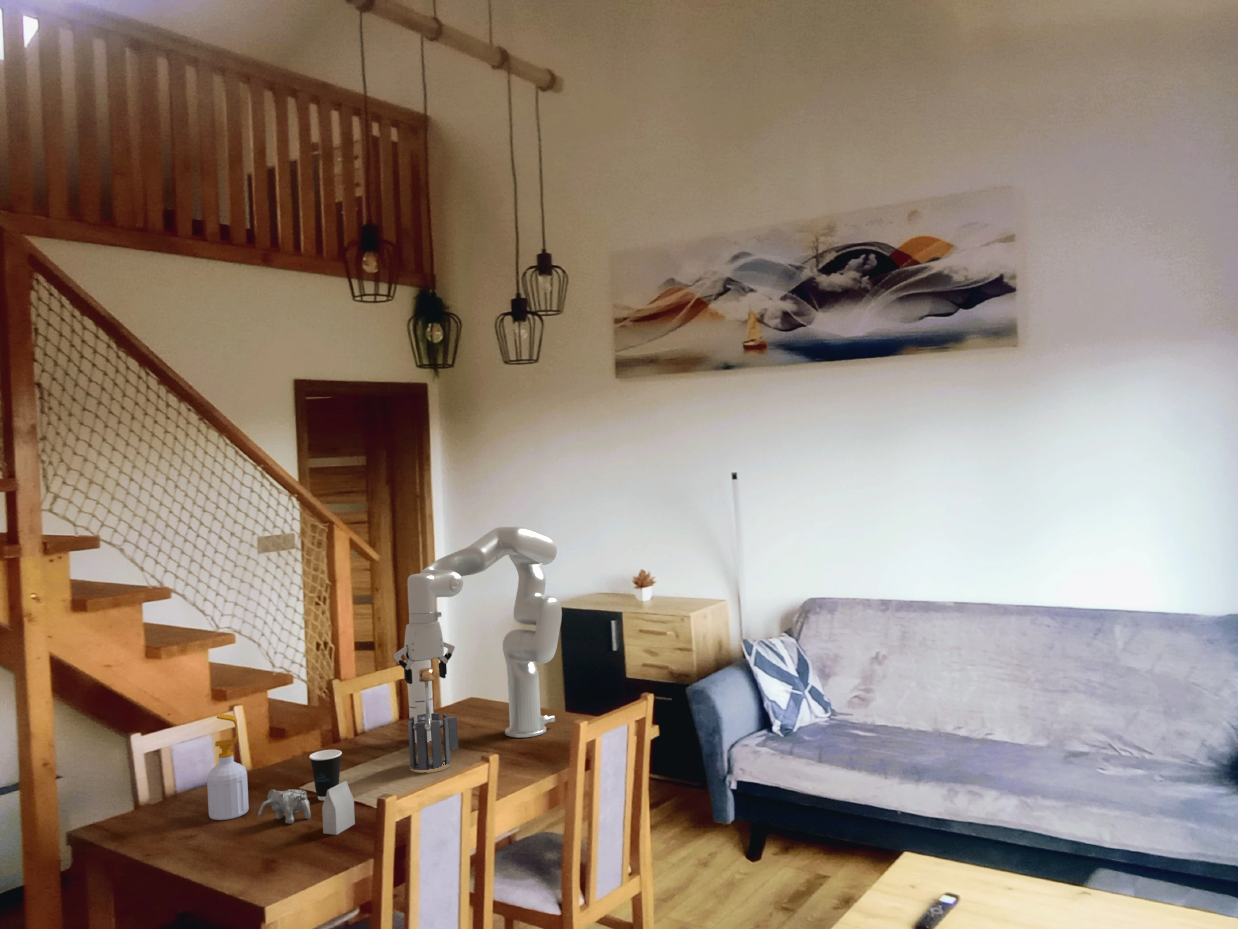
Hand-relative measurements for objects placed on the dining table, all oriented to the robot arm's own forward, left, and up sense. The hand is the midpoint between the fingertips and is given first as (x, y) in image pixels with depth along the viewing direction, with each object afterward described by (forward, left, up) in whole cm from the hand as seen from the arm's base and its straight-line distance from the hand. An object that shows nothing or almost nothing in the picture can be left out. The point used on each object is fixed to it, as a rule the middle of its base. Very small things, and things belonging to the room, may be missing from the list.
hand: (426, 680), depth 268 cm
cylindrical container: (-8, -27, -24) cm, 37 cm away
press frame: (-1, 0, -24) cm, 24 cm away
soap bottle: (+53, +2, -24) cm, 58 cm away
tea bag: (+34, +30, -24) cm, 51 cm away
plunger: (0, 0, -13) cm, 13 cm away
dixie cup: (+30, +6, -24) cm, 39 cm away
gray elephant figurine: (+43, +17, -24) cm, 52 cm away
